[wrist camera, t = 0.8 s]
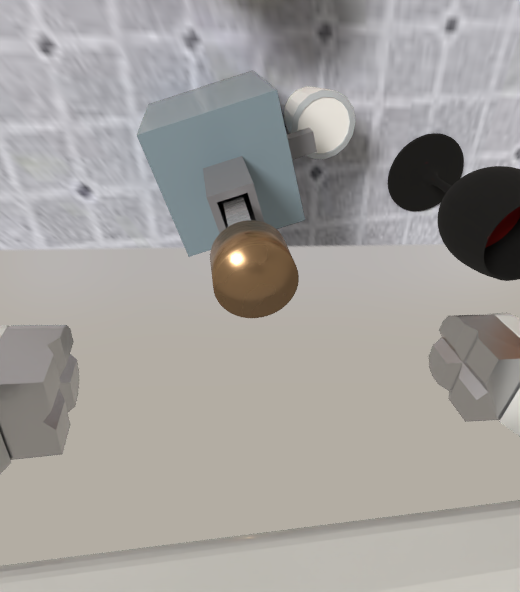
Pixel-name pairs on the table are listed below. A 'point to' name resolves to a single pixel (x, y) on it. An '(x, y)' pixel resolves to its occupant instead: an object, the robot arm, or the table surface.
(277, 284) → the pump plunger
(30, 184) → the table surface
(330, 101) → the shot glass
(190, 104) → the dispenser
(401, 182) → the wine glass
